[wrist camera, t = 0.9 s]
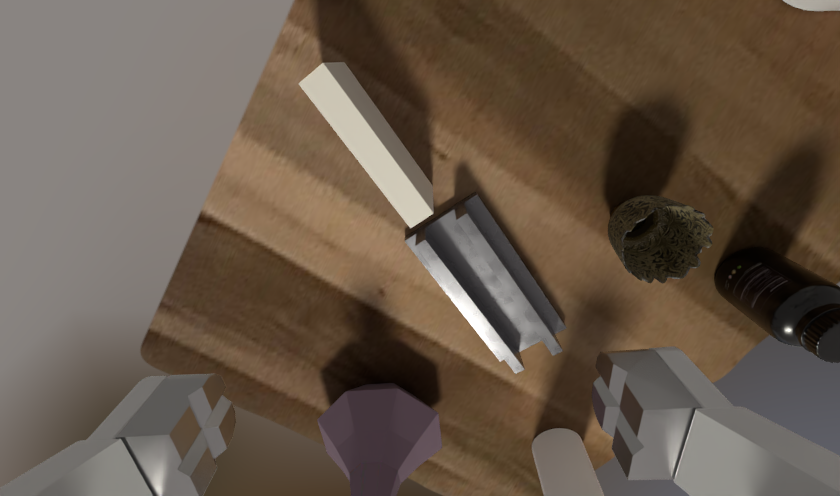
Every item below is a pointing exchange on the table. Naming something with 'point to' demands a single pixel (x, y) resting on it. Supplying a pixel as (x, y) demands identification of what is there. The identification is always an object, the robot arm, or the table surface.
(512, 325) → the floor track
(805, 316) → the supplement bottle
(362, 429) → the flask
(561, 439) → the cylindrical container
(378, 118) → the door panel
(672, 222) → the dark grey small vase
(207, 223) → the table surface
